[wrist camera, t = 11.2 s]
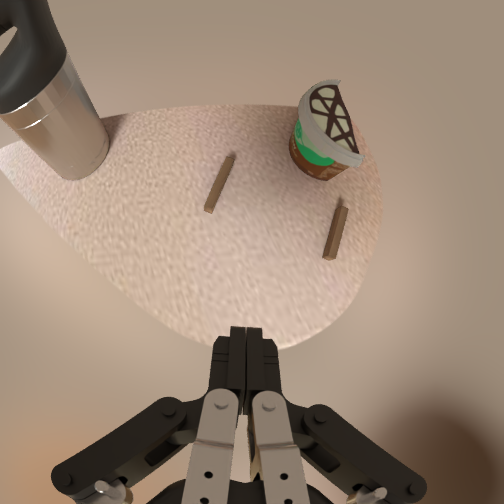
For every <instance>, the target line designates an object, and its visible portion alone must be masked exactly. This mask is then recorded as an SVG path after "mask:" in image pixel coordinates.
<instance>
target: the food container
mask: <svg viewBox="0 0 504 504" xmlns="http://www.w3.org/2000/svg"><path fill="white" fill-rule="evenodd" d="M339 83H340V80H326V81H322V82H320V83H318V84H316V85H314V86H313V87H311V88H310V89H309V90H308V91H307V92H306V93H305V94H304V95H303V96H302V98H301V100H300V102H299V106H298V115H299V118H298V121H297V123H296V125H295V128H294V130H293V133H292V135H291V137H290V141H289V151H290V155H291V157H292V159H293V161H294V162H295V164H296V165H297V166H298V167H299V168H300V169H301V170H302V171H303V172H304V173H306V174H307V175H309V176H311V177H313V178H316V179H319V180H326V181H328V180H329V179H331V178H333V177H334V176H336V175H337V174H339V173H340V172H342V171H344V170H345V169H347V168H348V167H350V166H351V167H357V168H358V167H359V165H360V164H361V163H362V161H363V158H364V157H365V155H360V154H359V151H358V148H357V145H356V142H355V138H354V134H353V129H352V124H351V120H350V116H349V114H348V111H347V109H346V107H345V105H344V103H343V101H342V98H341V95H340V92H339V89H338V85H339Z"/></svg>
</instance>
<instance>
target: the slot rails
mask: <svg viewBox="0 0 504 504" xmlns="http://www.w3.org/2000/svg"><path fill="white" fill-rule="evenodd" d="M233 162H234V159H232V158H229V157H226V159H225V161H224V163H223V165H222V167H221V169H220V172H219V174H218V176H217V178H216V180H215V183H214V185H213V187H212V189H211V192H210V194H209V196H208V198H207V201H206V203H205V205H204V211H206V212H209V213H211V214H212V212H213V210H214V207H215V205H216V202H217V200H218V198H219V195H220V193H221V191H222V189H223V186H224V184H225V182H226V179H227V177H228V175H229V173H230V170H231V168H232V166H233ZM347 213H348V208H346V207H344V206H341V207H339V208H338V209H336V210H335V214H334V218H333V221H332V225H331V229H330V232H329V236H328V239H327V243H326V246H325V250H324V253H323V257H322V258H324V259H326V260H332V259H336V255H337V252H338V248H339V244H340V241H341V237H342V233H343V229H344V225H345V221H346V217H347Z"/></svg>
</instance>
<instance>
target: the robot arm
mask: <svg viewBox="0 0 504 504" xmlns="http://www.w3.org/2000/svg"><path fill="white" fill-rule="evenodd" d="M13 26H15V27H17V31H16V33H15V35H14V37H13V38H12V40H11V42H10V43H9V45H8V46H7V47H6V49H5V50H4V51H3V53H2V54H1V55H0V118H1V119H2V120H3V121H4V122H5V123H6V124H7V125H8V126H9V127H10V128H11V129H12V130H13V131H14V132H15V133H16V134H17V135H18V136H19V137H20V138H21V139H22V140H23V141H24V142H25V143H26V144H27V145H28V146H29V147H30V148H31V149H32V150H33V151H34V152H35V153H36V154H37V155H38V156H39V157H40V158H41V159H43V160H44V161H45V162H46V163H47V164H48V165H49V166H50V167H51V168H52V169H53V170H54V171H55V172H56V173H58V174H59V175H60V176H61V177H62V178H64V179H67V180H78V179H81V178H84V177H86V176H88V175H89V174H91V173H92V172H93V171H95V170H96V169H97V168H98V167H99V166H100V164H101V163H102V162H103V160H104V159H105V156H106V154H107V152H108V148H109V136H108V134H107V132H106V130H105V128H104V126H103V124H102V122H101V120H100V118H99V116H98V114H97V112H96V110H95V109H94V106H93V104H92V102H91V100H90V98H89V96H88V94H87V92H86V91H85V88H84V86H83V84H82V82H81V80H80V78H79V76H78V73H77V71H76V69H75V68H74V65H73V63H72V61H71V59H70V56H69V54H68V52H67V50H66V47H65V45H64V43H63V41H62V39H61V36H60V34H59V32H58V30H57V28H56V25H55V23H54V20H53V18H52V15H51V12H50V9H49V5H48V2H47V0H0V36H1V35H2V34H3V33H5V32H6V31H7V30H9V29H10V28H11V27H13ZM242 407H243V415H248V425H247V437H248V448H249V459H250V482H248V483H242V482H238V481H234V480H230V473H231V465H232V456H233V447H234V438H235V430H236V428H237V423H238V416H239V415H241V413H242ZM193 442H194V444H193V447H192V452H191V457H190V462H189V467H188V472H187V477H186V479H183V480H180V481H177V482H175V483H173V484H171V485H169V486H168V487H166V488H165V489H164V490H163V491H162V492H160V493H159V494H158V495H157V496H155V497H154V498H153V499H151V500H150V501H149V502H148V503H146V504H334V503H332V502H331V501H330V500H329V499H328V498H327V497H325V496H324V495H323V494H322V493H321V492H320V491H319V490H317V489H316V488H314V487H313V486H311V485H308V484H306V480H305V476H304V470H303V465H302V460H301V457H303V458H304V459H305V460H306V461H307V462H308V463H309V464H311V465H312V466H313V467H314V468H315V469H316V470H317V471H319V472H320V473H321V474H322V475H323V476H325V477H326V478H327V479H328V480H329V481H331V482H332V483H333V484H334V485H335V486H337V487H338V488H339V489H341V490H342V491H343V492H344V493H346V494H347V495H348V498H347V501H346V504H413V503H416V502H418V501H419V500H421V499H422V498H423V497H424V495H425V493H426V490H427V484H426V481H425V480H424V478H422V477H421V476H420V475H418V474H417V473H415V472H414V471H412V470H411V469H410V468H408V467H407V466H405V465H404V464H402V463H401V462H399V461H398V460H397V459H395V458H394V457H393V456H391V455H390V454H388V453H387V452H386V451H384V450H383V449H382V448H380V447H379V446H378V445H376V444H375V443H374V442H372V441H371V440H370V439H369V438H367V437H366V436H365V435H363V434H362V433H361V432H359V431H358V430H357V429H356V428H354V427H353V426H352V425H351V424H349V423H348V422H347V421H346V420H344V419H343V418H342V417H341V416H340V415H338V414H337V413H336V412H334V411H333V410H332V409H331V408H330V407H328V406H325V405H322V404H316V405H313V406H311V407H309V408H305V407H301V406H297V405H294V404H292V403H290V402H289V401H288V400H286V399H285V397H284V396H283V394H282V390H281V380H280V370H279V360H278V350H277V346H276V345H275V343H274V341H273V340H272V339H263V337H262V328H253V327H247V328H246V327H236V326H231V329H230V337H226V336H219V337H218V338H217V339H216V341H215V342H214V344H213V353H212V361H211V369H210V379H209V387H208V390H207V392H206V394H205V395H204V396H203V397H201V398H199V399H197V400H193V401H188V402H181V401H180V400H178V399H176V398H173V397H164V398H161V399H159V400H157V401H156V402H154V403H153V404H152V405H150V406H149V407H147V408H146V409H145V410H143V411H142V412H140V413H139V414H137V415H136V416H134V417H133V418H132V419H130V420H129V421H127V422H126V423H124V424H123V425H121V426H120V427H118V428H117V429H115V430H114V431H112V432H110V433H109V434H108V435H106V436H105V437H103V438H101V439H100V440H98V441H96V442H95V443H93V444H92V445H90V446H88V447H87V448H85V449H84V450H82V451H80V452H79V453H77V454H76V455H74V456H72V457H70V458H69V459H67V460H65V461H64V462H62V463H60V464H58V465H57V466H55V467H54V468H53V470H52V473H51V480H52V483H53V485H54V486H55V488H56V489H57V490H58V491H59V492H61V493H63V494H65V495H67V496H69V497H70V498H72V499H73V500H74V501H75V502H76V504H131V503H132V502H133V493H132V491H131V490H130V488H131V487H132V486H134V485H135V484H136V483H138V482H139V481H141V480H142V479H143V478H145V477H146V476H148V475H149V474H150V473H152V472H153V471H154V470H156V469H157V468H159V467H160V466H161V465H163V464H164V463H165V462H166V461H168V460H169V459H170V458H171V457H173V456H174V455H175V454H177V453H178V452H179V451H180V450H182V449H183V448H184V447H185V446H187V445H188V444H189V443H193Z"/></svg>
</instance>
